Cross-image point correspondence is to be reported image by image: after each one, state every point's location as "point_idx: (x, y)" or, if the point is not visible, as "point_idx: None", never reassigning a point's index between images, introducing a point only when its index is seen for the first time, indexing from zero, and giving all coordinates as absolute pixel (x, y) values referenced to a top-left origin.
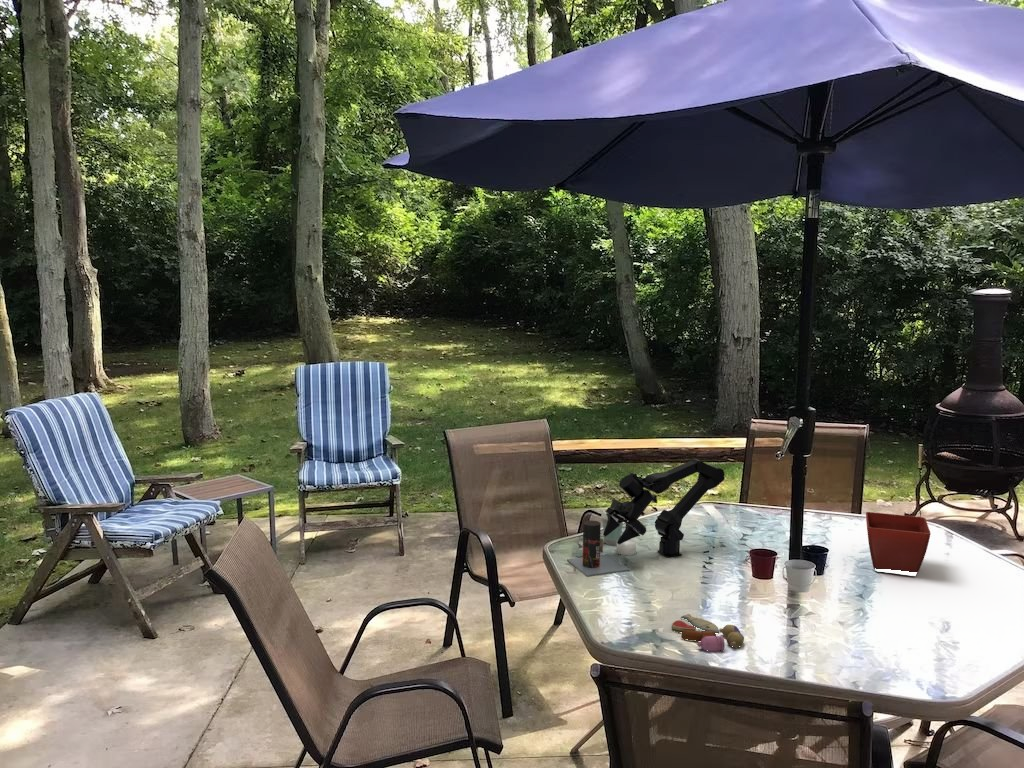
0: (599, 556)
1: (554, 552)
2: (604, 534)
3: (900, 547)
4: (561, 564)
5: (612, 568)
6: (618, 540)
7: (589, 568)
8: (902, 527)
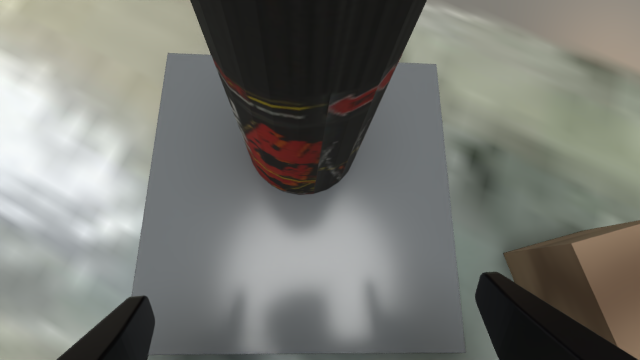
0: (256, 155)
1: (575, 66)
2: (486, 285)
3: None
4: None
5: (192, 240)
6: (119, 317)
7: None
8: None
